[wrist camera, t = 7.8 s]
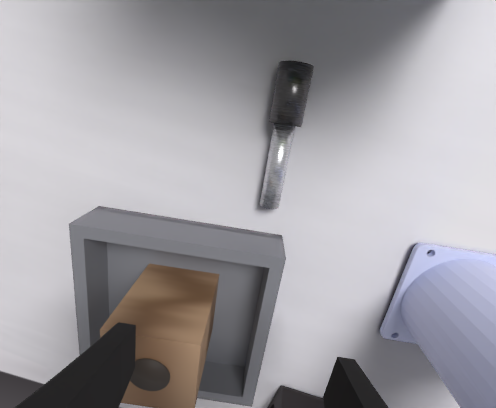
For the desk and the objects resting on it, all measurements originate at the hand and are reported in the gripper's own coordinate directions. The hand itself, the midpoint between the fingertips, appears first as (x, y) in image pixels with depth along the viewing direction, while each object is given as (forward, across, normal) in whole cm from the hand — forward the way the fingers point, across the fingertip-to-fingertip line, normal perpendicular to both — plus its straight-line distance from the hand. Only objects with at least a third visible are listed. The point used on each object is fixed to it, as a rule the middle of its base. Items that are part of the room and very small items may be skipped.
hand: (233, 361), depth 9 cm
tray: (+9, +4, +6) cm, 12 cm away
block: (+9, +4, +5) cm, 11 cm away
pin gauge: (+9, -1, -8) cm, 12 cm away
